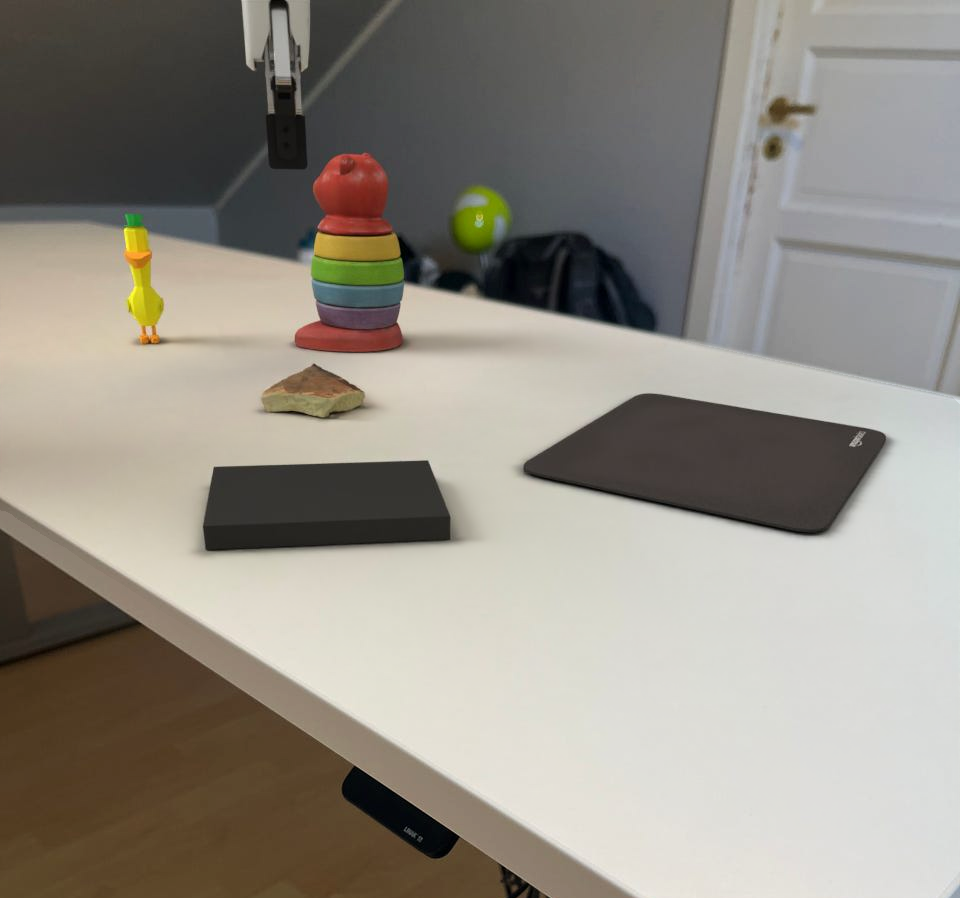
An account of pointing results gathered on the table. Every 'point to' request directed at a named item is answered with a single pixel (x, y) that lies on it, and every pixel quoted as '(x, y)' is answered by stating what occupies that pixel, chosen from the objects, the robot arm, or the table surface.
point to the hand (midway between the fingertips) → (288, 167)
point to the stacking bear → (354, 261)
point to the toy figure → (141, 278)
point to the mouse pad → (717, 460)
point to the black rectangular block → (324, 505)
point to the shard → (312, 393)
